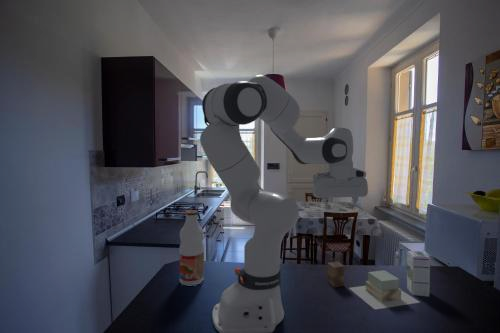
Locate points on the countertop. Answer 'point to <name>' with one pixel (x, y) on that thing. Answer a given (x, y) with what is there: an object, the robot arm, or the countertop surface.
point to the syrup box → (418, 273)
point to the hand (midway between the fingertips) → (339, 209)
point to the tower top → (383, 280)
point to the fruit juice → (191, 251)
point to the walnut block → (335, 274)
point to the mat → (379, 305)
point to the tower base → (383, 293)
